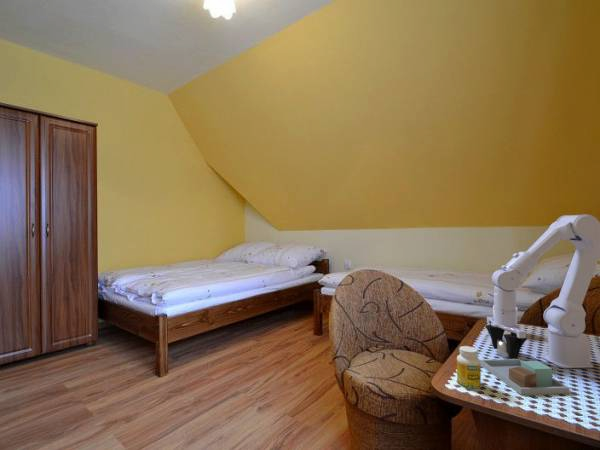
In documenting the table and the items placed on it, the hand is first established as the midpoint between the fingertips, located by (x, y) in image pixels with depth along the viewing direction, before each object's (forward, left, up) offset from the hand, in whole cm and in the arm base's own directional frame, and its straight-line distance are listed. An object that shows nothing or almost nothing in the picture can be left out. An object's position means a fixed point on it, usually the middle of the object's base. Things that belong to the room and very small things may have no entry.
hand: (505, 353), depth 96 cm
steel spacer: (0, 0, -2) cm, 2 cm away
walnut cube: (+8, +18, -1) cm, 20 cm away
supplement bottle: (+21, +16, -2) cm, 26 cm away
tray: (+5, +14, -1) cm, 15 cm away
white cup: (-15, -21, -2) cm, 26 cm away
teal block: (+3, +16, -1) cm, 16 cm away
